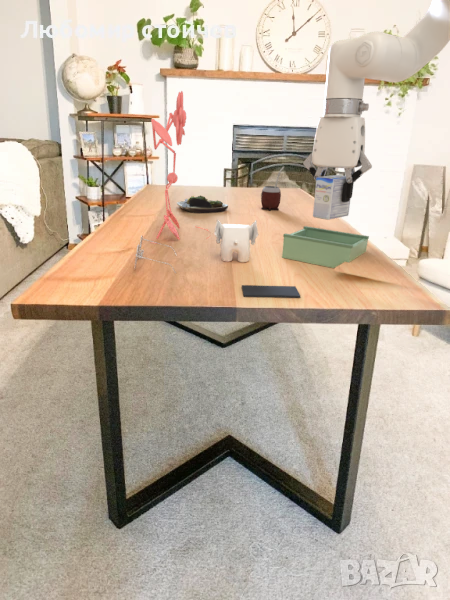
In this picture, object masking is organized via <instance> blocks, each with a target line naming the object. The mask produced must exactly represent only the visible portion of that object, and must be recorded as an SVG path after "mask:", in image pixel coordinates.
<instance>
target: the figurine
mask: <svg viewBox="0 0 450 600" xmlns="http://www.w3.org/2000/svg"><path fill="white" fill-rule="evenodd" d="M175 103H176V104H175V105H176V106H175V108H176V109H174V112H173V113H172V112H169V114H168V115H169V116H168V119H167V123H166V126H165V127H164V126H163V125H162V124H161V123H160V122H159V121H157V120H155V118H151V119H150V122H151V129H152V140H153V148H154V150H157V149H158V148H159V146H160V144H162V145H163V146H164V147H165V148H167V149H168V151H170V152H172V154H173V163H172V169H173V170H172V172H169V173H168V174H167V176H166V180H167V182H168V183H167V184H166V185H165V190H164V197H165V210H166V211H165V212H166V215H165V214H164V215H163V223H162V225H161V227H160V229H159V231H158V233H157V234H156V238H155V239H157V240H158V239H159V238H160V236H161V234H162V232H163V230H164V228H165V226H167V228H168V229H169V230H170V232H171V233H172V235H174V237H176V239H177V240H179V241H180V239H181V238H180V235H179V233H178V230H180V229H181V227H180V224H179V221H178V219H177V218H176V216H175V214H173V212H172V209H171V202H170V196H169V189H170V187H171V186H172V184H176V183H177V182H178V179H179V178H178V175H177V173H175V172H176V158H177V152H176V150H174V149H173V148H172V147H173V141H172V137H171V135H170V133H169V130H170V128H171V127H172V124H173V126H174V128H175V141H176V145H177V146H179V145H181V144H182V141H183V136H186V133H185V129H184V128H185V126H186V123H187V113H186V110H185V109H184V92H183V90H181V91H179V92H178V94H177V97H176V102H175ZM156 134H157V135H158V137H159V140H158V142H157V138H156ZM176 227H177V229H178V230H177V229H176ZM196 228H199V229H201V230H204V231H208V232H209V229H208V228H203V227H199V226H196ZM213 234H214V232H213V233H212V235H213ZM212 235H211V234H210V235H209V237H206V240H207V239H209V238H210V237H211V236H212ZM149 242H150V241H149ZM150 244H152V242H150ZM155 244H158V242H156V243H155Z"/></svg>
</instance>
